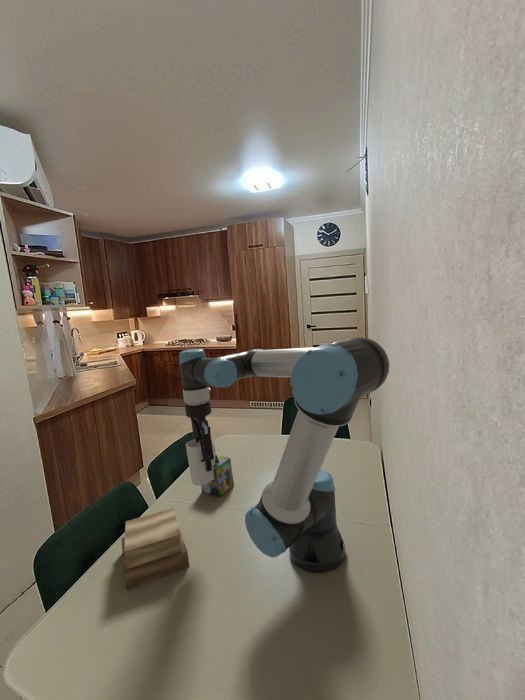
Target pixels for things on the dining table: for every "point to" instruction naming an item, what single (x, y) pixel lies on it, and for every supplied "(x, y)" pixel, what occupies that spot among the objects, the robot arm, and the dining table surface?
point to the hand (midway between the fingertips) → (206, 474)
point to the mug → (197, 462)
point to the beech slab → (151, 538)
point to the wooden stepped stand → (154, 567)
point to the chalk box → (220, 477)
